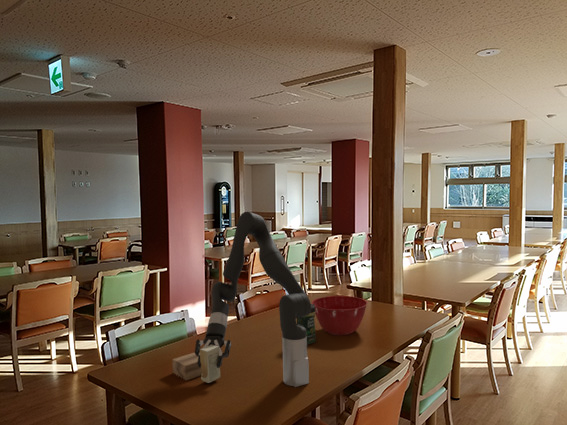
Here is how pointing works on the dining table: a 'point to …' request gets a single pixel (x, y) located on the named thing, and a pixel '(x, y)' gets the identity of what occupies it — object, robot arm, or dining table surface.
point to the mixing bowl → (339, 313)
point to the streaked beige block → (187, 366)
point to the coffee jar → (309, 325)
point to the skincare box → (209, 363)
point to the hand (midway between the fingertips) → (208, 366)
